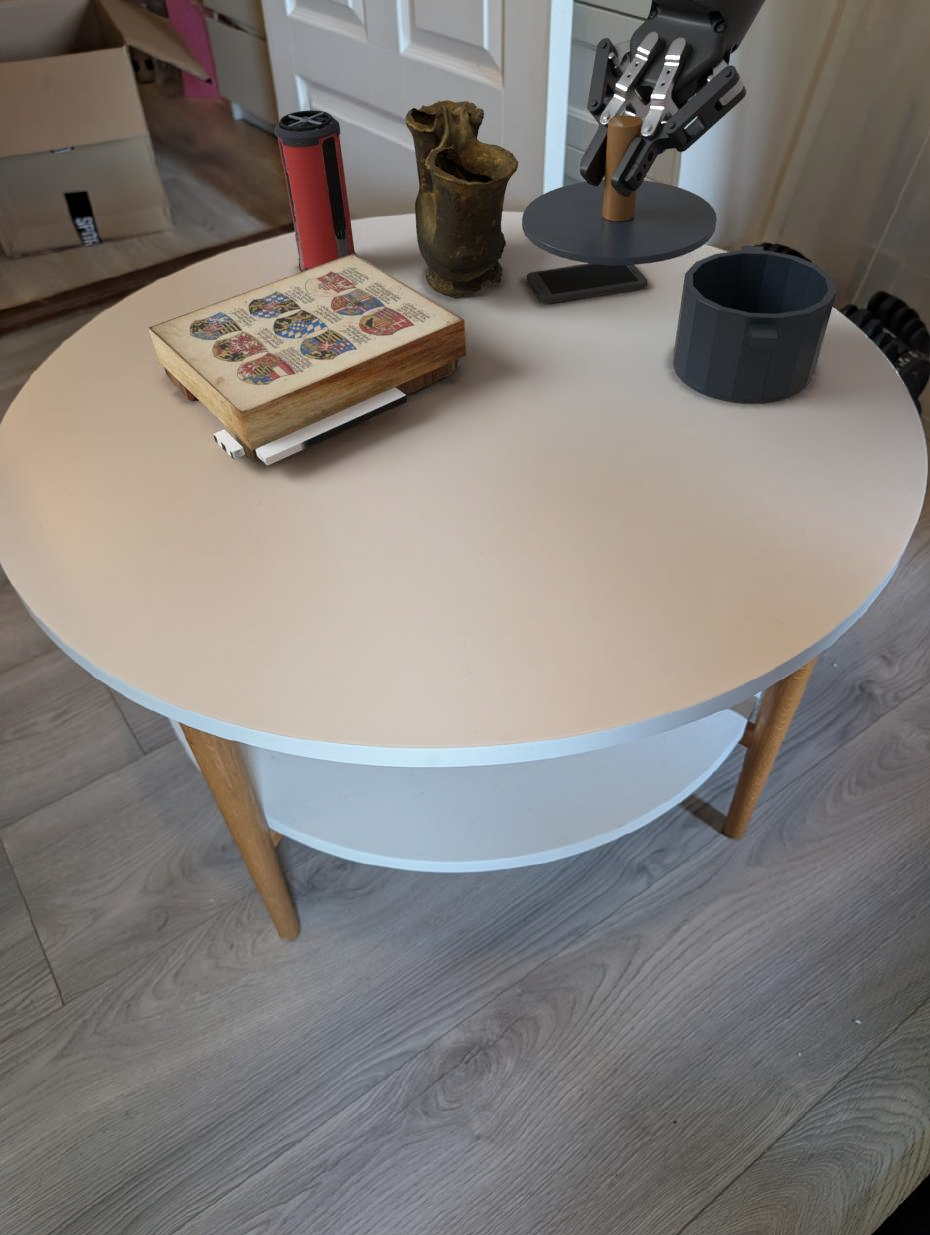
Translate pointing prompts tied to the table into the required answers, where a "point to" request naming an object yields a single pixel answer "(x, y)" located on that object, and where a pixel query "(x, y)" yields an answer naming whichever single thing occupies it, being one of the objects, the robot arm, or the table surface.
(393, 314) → the book
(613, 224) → the lid
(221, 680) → the table surface
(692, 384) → the pot
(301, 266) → the speaker
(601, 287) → the cell phone
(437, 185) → the pottery vessel
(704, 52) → the robot arm
